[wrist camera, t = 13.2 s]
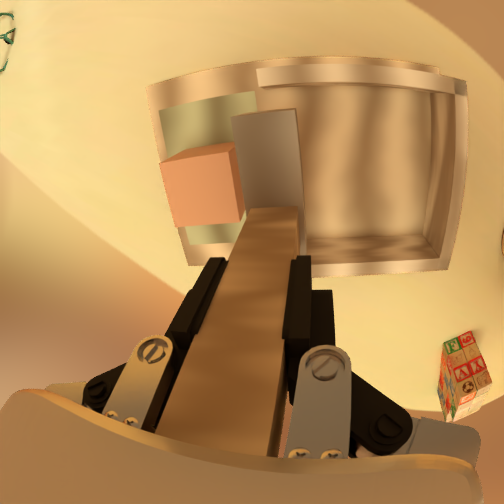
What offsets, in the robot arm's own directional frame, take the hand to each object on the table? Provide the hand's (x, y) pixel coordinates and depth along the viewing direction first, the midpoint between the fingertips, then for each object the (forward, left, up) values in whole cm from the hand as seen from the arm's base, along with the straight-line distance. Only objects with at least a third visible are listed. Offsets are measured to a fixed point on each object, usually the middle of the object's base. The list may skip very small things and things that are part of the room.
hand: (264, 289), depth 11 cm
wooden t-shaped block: (0, 0, -8) cm, 8 cm away
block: (+7, 0, -18) cm, 19 cm away
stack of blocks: (-33, +39, -19) cm, 55 cm away
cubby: (-2, 0, -19) cm, 19 cm away
